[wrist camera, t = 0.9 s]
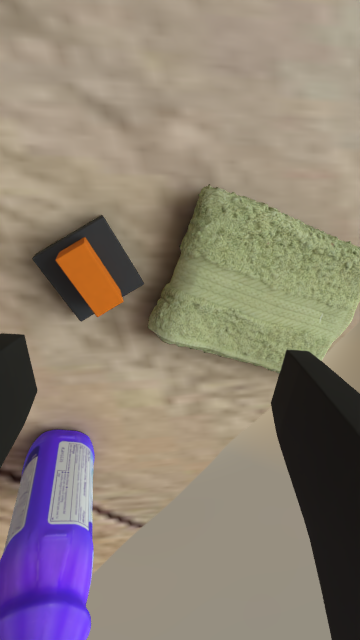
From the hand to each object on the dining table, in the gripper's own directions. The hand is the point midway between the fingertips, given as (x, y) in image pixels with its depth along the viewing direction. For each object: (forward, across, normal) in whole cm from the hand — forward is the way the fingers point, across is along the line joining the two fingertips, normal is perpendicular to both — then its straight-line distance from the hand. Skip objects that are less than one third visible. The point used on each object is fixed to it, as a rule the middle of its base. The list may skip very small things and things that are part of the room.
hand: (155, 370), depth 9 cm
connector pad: (+15, +6, +3) cm, 16 cm away
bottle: (+12, +9, +20) cm, 25 cm away
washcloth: (+18, -8, +6) cm, 21 cm away
